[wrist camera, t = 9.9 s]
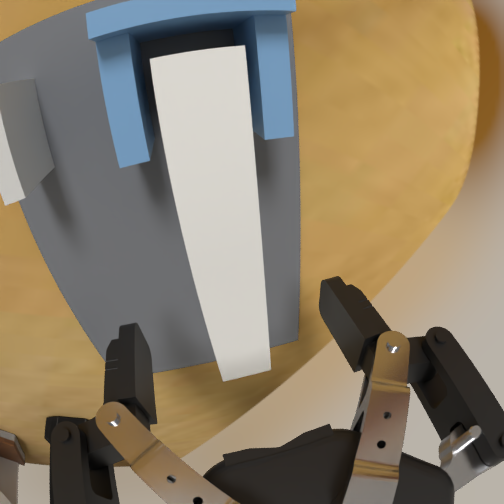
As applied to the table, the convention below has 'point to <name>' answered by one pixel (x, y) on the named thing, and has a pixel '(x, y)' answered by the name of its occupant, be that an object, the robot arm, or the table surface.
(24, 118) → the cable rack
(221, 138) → the block
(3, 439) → the white shelf unit
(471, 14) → the table surface
